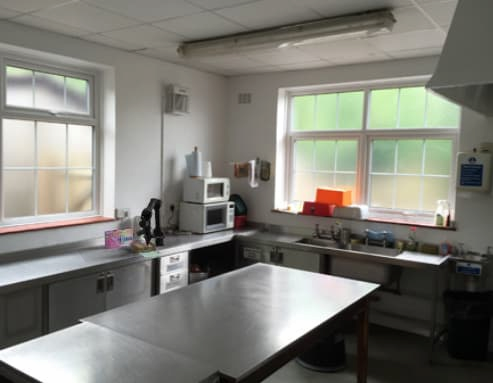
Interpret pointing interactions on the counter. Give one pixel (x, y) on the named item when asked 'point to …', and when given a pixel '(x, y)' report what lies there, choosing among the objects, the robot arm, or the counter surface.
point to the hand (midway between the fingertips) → (147, 245)
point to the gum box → (118, 238)
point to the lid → (149, 253)
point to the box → (142, 247)
